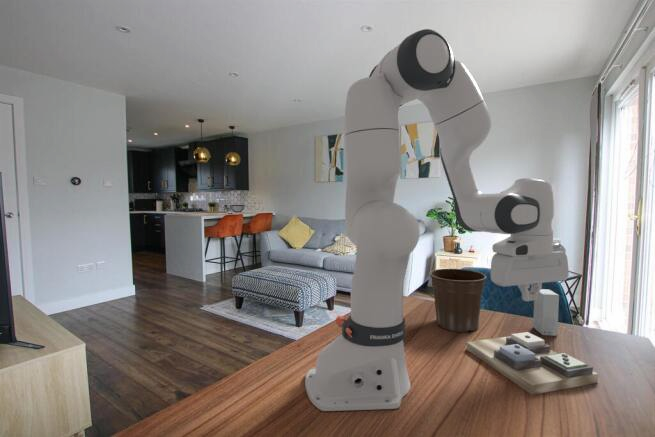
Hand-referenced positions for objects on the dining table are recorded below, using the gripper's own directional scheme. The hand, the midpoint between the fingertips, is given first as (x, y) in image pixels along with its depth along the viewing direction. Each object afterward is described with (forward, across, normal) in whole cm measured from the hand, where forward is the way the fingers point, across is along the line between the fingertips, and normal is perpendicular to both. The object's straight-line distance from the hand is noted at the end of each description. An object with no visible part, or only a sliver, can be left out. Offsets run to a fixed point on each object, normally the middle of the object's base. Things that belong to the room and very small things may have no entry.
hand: (529, 300), depth 80 cm
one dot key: (+11, 0, 0) cm, 11 cm away
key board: (+14, +4, +4) cm, 15 cm away
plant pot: (+14, +5, -22) cm, 26 cm away
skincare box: (+14, -17, -10) cm, 24 cm away
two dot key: (+11, +8, +5) cm, 15 cm away
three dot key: (+12, 0, +10) cm, 16 cm away
